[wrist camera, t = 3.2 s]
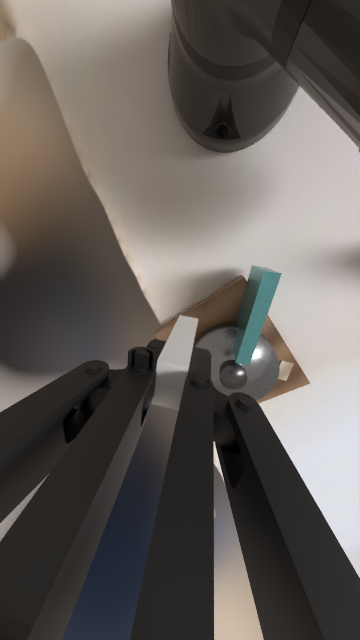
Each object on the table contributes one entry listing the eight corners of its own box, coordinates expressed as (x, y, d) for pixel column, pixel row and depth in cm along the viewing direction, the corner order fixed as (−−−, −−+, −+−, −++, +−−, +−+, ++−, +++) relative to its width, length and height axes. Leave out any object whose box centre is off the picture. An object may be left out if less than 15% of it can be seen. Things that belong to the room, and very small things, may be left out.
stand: (157, 330, 36) (153, 335, 34) (242, 275, 30) (244, 277, 28) (219, 410, 40) (219, 419, 38) (304, 376, 34) (310, 384, 32)
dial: (259, 400, 35) (269, 435, 28) (184, 382, 36) (178, 412, 30) (309, 275, 26) (341, 283, 20) (209, 258, 28) (208, 261, 21)
